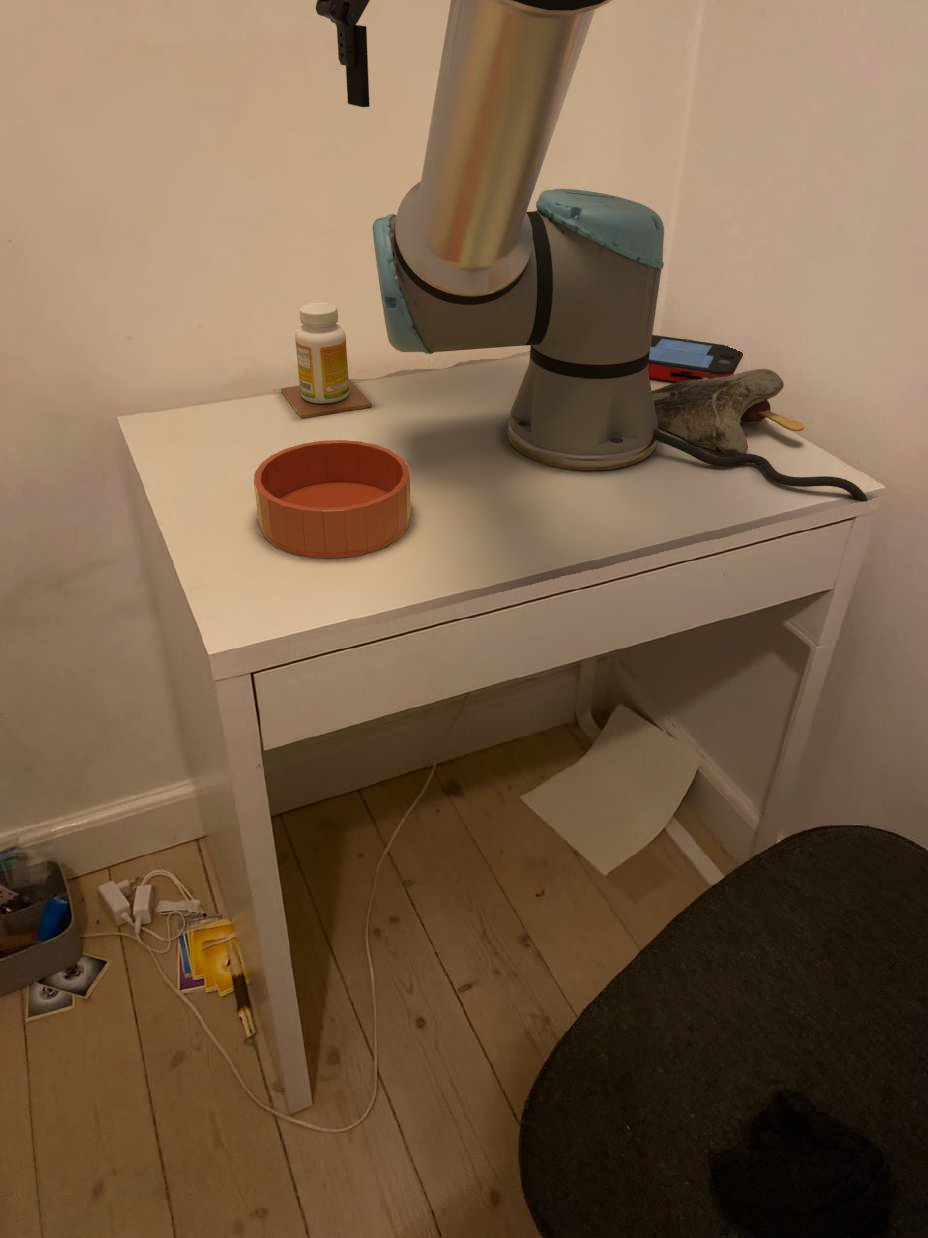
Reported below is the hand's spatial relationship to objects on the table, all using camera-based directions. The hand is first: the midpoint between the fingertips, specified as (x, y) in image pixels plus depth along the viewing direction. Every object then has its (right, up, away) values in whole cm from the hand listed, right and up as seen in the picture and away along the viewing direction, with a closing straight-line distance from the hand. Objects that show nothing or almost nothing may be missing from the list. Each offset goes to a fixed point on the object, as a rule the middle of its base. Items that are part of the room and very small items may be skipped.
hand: (416, 100), depth 94 cm
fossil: (+23, -28, +10) cm, 37 cm away
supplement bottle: (-11, -27, +11) cm, 31 cm away
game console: (+31, -21, +22) cm, 43 cm away
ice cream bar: (+38, -33, +2) cm, 50 cm away
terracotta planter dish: (-7, -43, -10) cm, 44 cm away
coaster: (-11, -27, +11) cm, 31 cm away
